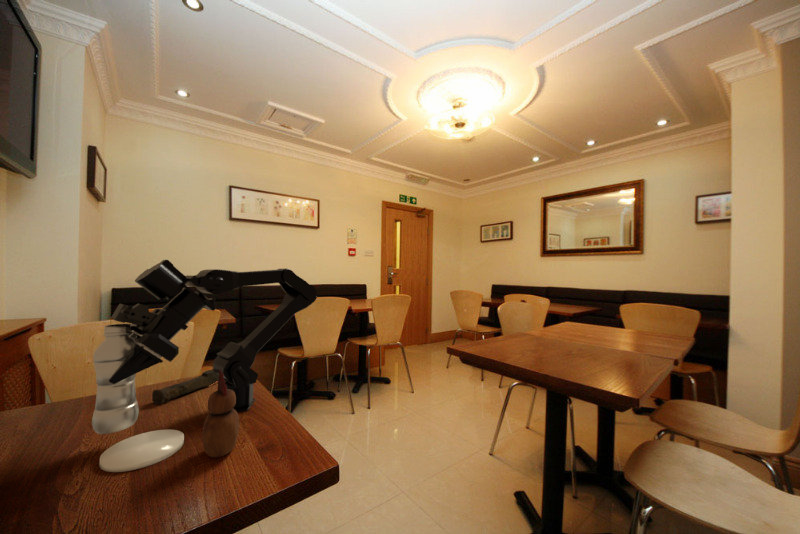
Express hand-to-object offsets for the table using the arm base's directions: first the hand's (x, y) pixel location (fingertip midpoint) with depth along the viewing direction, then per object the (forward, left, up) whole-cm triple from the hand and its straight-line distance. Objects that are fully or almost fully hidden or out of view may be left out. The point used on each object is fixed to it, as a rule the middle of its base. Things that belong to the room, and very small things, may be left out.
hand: (107, 378), depth 57 cm
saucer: (-8, +1, -13) cm, 15 cm away
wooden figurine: (-22, +3, -13) cm, 26 cm away
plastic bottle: (-1, -1, -10) cm, 10 cm away
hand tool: (-1, -29, -14) cm, 32 cm away
